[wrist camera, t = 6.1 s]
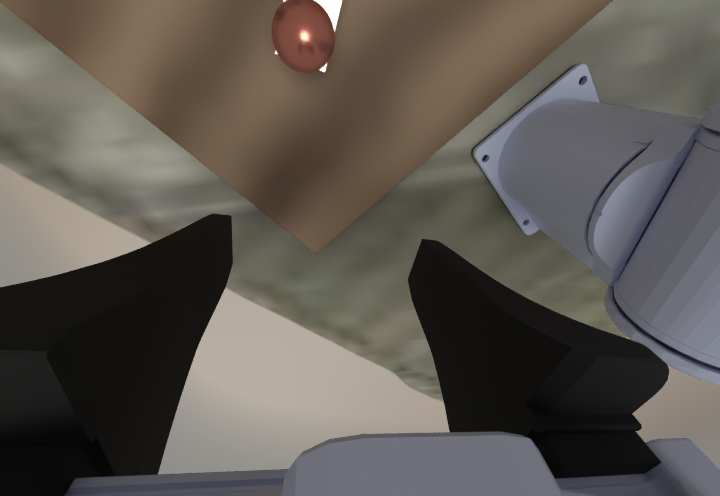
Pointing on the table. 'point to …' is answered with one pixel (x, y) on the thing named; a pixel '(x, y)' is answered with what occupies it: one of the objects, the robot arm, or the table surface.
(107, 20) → the board
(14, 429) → the robot arm
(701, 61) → the table surface
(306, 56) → the lever
